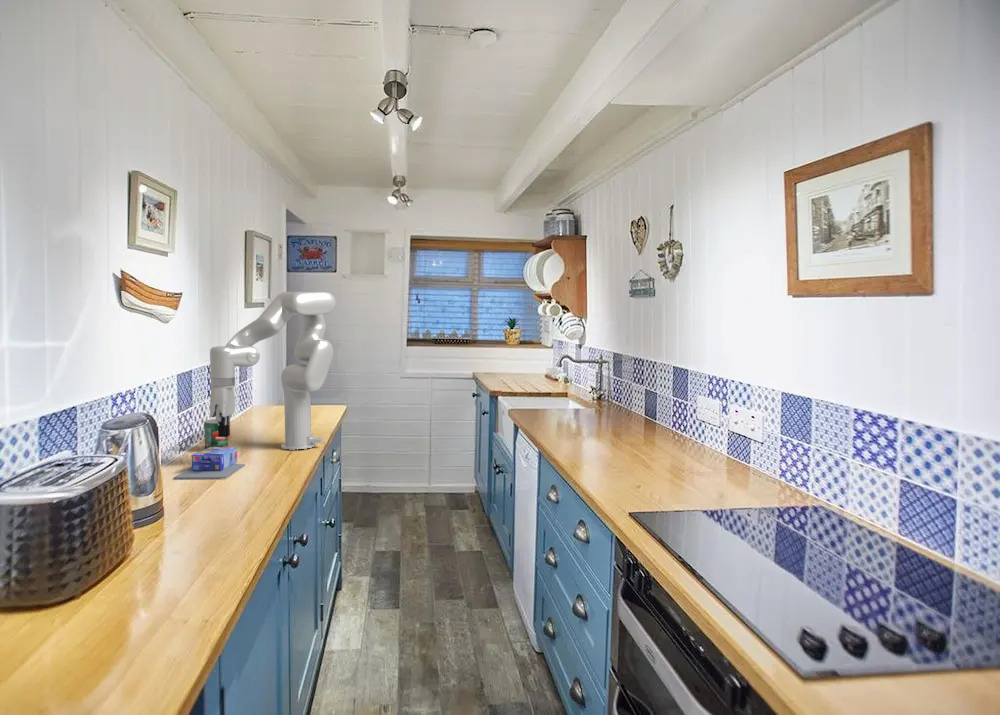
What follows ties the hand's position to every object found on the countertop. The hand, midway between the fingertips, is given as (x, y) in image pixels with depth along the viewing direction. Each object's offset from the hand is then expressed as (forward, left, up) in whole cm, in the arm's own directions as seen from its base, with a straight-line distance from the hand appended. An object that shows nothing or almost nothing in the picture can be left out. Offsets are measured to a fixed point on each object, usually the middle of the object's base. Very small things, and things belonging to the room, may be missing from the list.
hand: (224, 436), depth 209 cm
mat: (0, +12, -9) cm, 15 cm away
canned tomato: (+11, -20, -10) cm, 25 cm away
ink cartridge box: (0, 0, -6) cm, 6 cm away
